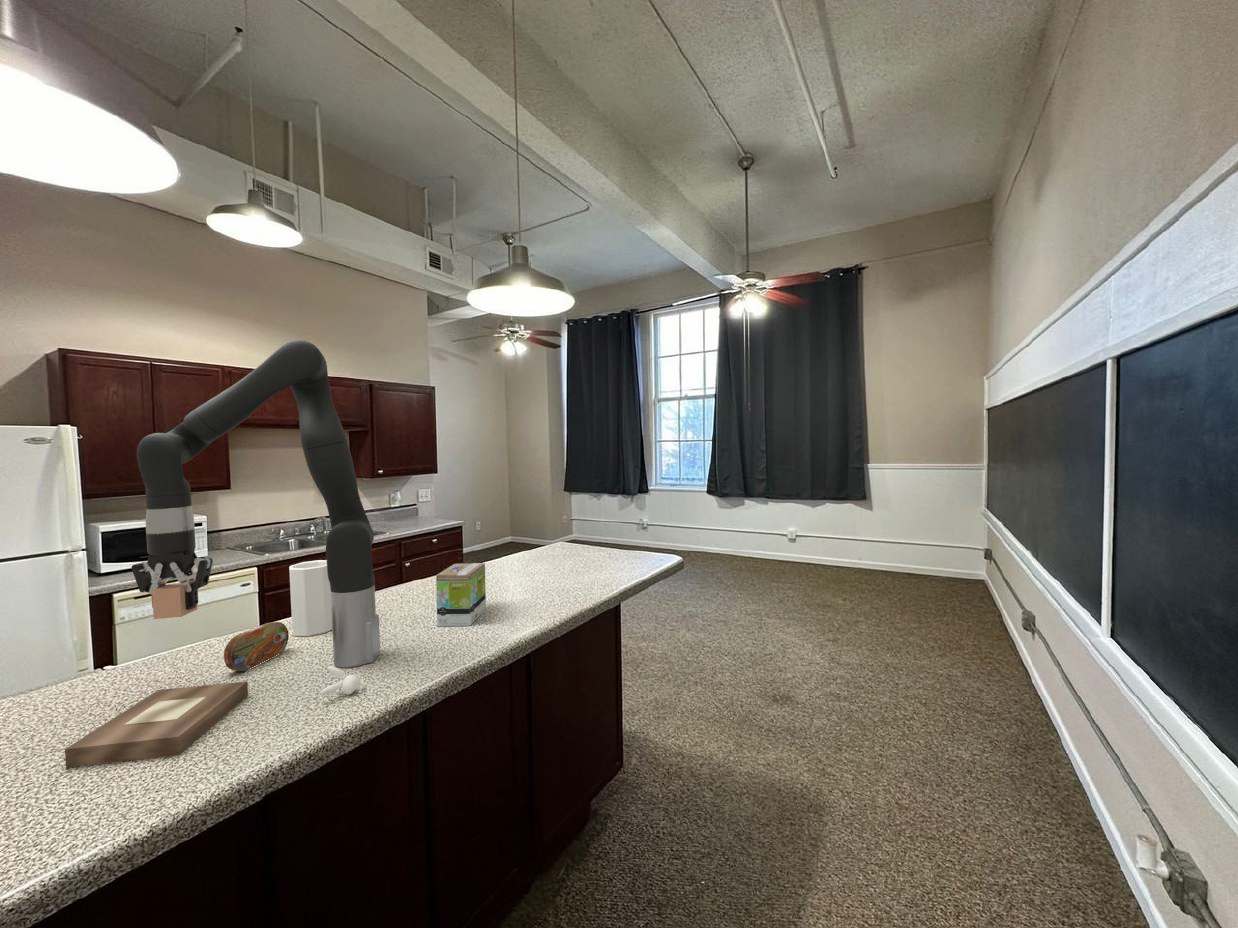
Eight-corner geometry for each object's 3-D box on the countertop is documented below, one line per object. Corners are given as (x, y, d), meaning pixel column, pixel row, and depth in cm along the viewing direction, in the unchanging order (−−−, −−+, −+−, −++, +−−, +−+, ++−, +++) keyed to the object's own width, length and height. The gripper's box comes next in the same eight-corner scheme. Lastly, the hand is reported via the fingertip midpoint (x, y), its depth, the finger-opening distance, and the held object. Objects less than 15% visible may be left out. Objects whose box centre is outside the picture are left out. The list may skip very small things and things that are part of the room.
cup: (345, 626, 142) (342, 561, 141) (303, 640, 132) (300, 570, 132) (324, 620, 148) (322, 558, 147) (283, 632, 138) (280, 566, 138)
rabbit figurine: (362, 697, 100) (320, 688, 96) (355, 708, 101) (313, 700, 98) (370, 671, 105) (330, 661, 101) (362, 681, 106) (323, 672, 103)
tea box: (472, 626, 139) (470, 573, 138) (436, 627, 139) (434, 574, 139) (487, 609, 154) (485, 561, 154) (454, 609, 154) (452, 562, 154)
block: (197, 609, 108) (195, 581, 107) (181, 616, 103) (179, 587, 102) (171, 611, 107) (169, 583, 107) (153, 618, 102) (151, 589, 102)
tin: (233, 677, 111) (231, 640, 111) (221, 676, 111) (219, 639, 111) (290, 650, 126) (289, 617, 125) (280, 649, 126) (278, 616, 126)
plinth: (248, 695, 102) (247, 680, 102) (179, 754, 82) (178, 735, 82) (158, 704, 99) (158, 688, 99) (65, 767, 80) (64, 747, 79)
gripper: (220, 524, 109) (224, 601, 110) (145, 528, 107) (150, 607, 107) (197, 529, 102) (202, 612, 102) (116, 534, 99) (121, 618, 100)
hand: (175, 609), depth 105 cm, fingers closed on block, 5 cm apart
